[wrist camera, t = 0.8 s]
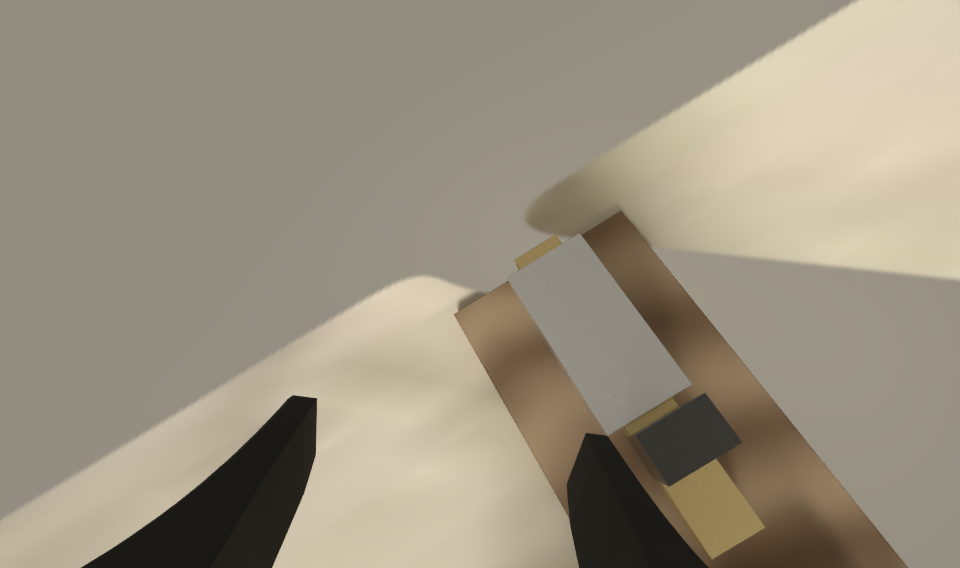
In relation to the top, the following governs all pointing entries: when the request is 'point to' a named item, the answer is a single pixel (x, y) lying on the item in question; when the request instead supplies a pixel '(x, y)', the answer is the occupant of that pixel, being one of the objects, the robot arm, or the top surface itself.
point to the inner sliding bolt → (688, 461)
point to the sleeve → (597, 335)
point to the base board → (712, 370)
